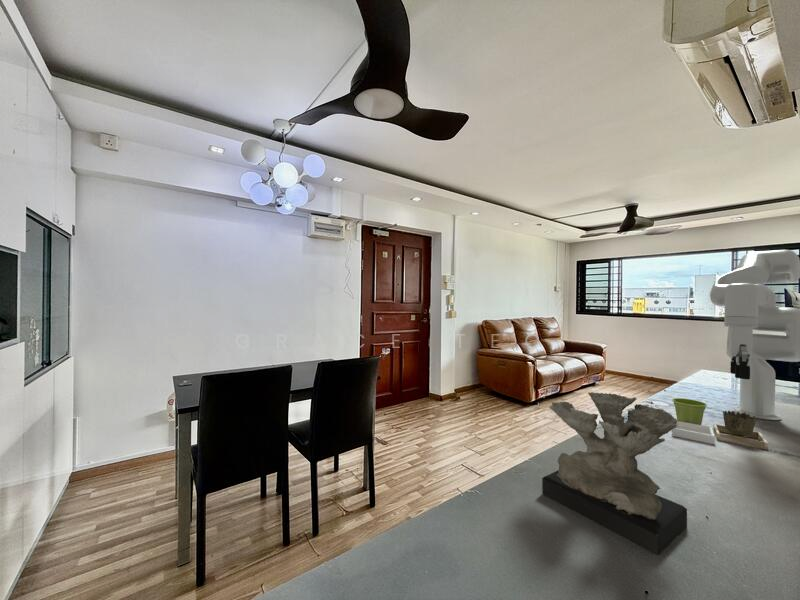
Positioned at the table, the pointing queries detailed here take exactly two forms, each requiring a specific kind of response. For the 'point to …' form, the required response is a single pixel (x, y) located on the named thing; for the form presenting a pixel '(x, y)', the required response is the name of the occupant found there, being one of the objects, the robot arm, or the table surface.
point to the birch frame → (740, 438)
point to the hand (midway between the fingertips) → (739, 376)
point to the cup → (739, 423)
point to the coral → (617, 472)
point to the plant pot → (689, 410)
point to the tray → (694, 432)
